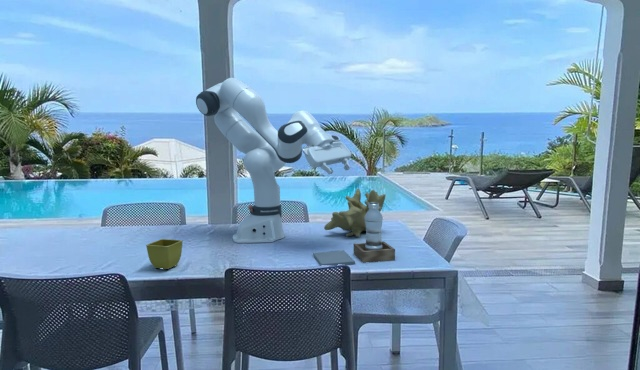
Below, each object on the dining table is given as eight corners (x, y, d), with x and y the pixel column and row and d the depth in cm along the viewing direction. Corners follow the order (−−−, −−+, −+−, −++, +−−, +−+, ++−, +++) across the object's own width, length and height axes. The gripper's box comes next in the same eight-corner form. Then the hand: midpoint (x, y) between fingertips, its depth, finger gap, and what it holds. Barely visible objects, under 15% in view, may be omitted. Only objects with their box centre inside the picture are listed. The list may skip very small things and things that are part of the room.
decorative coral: (399, 203, 202) (376, 174, 185) (397, 247, 190) (371, 219, 174) (350, 212, 215) (324, 185, 198) (345, 253, 203) (316, 228, 187)
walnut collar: (362, 262, 154) (362, 251, 154) (353, 254, 165) (353, 243, 165) (395, 260, 157) (395, 249, 157) (383, 251, 168) (383, 241, 167)
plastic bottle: (378, 260, 157) (378, 205, 154) (361, 258, 160) (361, 203, 157) (385, 256, 162) (386, 202, 159) (369, 253, 166) (369, 201, 163)
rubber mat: (321, 267, 151) (321, 264, 151) (313, 255, 164) (312, 252, 164) (355, 264, 153) (355, 261, 153) (344, 252, 167) (343, 250, 167)
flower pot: (163, 262, 158) (161, 238, 157) (184, 264, 156) (183, 239, 154) (147, 270, 150) (145, 244, 149) (169, 272, 147) (167, 246, 146)
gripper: (303, 141, 161) (324, 169, 156) (341, 135, 175) (361, 161, 170) (296, 153, 165) (316, 181, 160) (334, 146, 179) (353, 172, 174)
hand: (339, 171), depth 165 cm, fingers open, 8 cm apart
